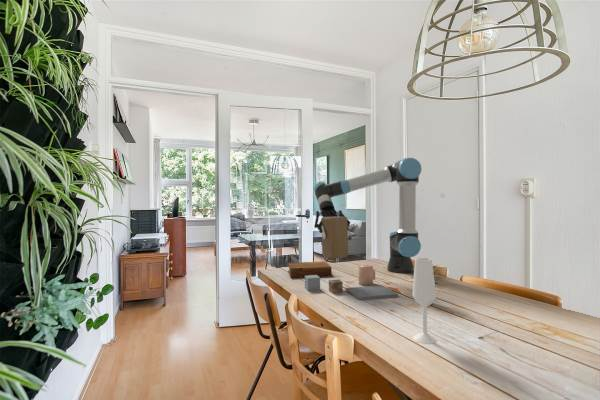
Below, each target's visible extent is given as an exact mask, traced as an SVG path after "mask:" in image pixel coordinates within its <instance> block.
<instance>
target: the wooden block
mask: <svg viewBox="0 0 600 400" xmlns="http://www.w3.org/2000/svg"><path fill="white" fill-rule="evenodd" d="M347 219H348V217H347V216H345V217H340V216H333V217H323V216H322V217H321V219H320V221H321V222H322V225H323V228H324V231H325V235H326V236H325V239H323V237H322V236H321V254H322V255H321V256H323V257H324V258H328V259H331V260H333V259H334V260H335V259H344V258H348V256H349V244H348V243H349V239H348V238H349V236H348V232H349V231H348V230H347Z"/></svg>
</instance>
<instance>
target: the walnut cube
mask: <svg viewBox="0 0 600 400" xmlns="http://www.w3.org/2000/svg"><path fill="white" fill-rule="evenodd" d="M343 288H344V287H343V281H342V280H340V279H329V280H328V291H329V292H330V293H331V294H342V293H343V291H344V290H343Z"/></svg>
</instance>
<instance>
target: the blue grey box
mask: <svg viewBox="0 0 600 400" xmlns="http://www.w3.org/2000/svg"><path fill="white" fill-rule="evenodd" d="M304 289H305V290H306V291H308V292H312V291H313V292H314V291H320V290H321V277H319V276H317V275H308V276H305V277H304Z"/></svg>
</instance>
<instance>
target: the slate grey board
mask: <svg viewBox="0 0 600 400" xmlns="http://www.w3.org/2000/svg"><path fill="white" fill-rule="evenodd" d="M345 292H347V293H348V294H349V295H351V296H353V297H355V298H356V300H359V301H367V300H377V299H387V298H388V299H389V298H399V293H398V292H395V291H393V290H391V289H390V288H388V287H386V286H384V285H382V284H381V285H371V286H358V287H346V288H345Z"/></svg>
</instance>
